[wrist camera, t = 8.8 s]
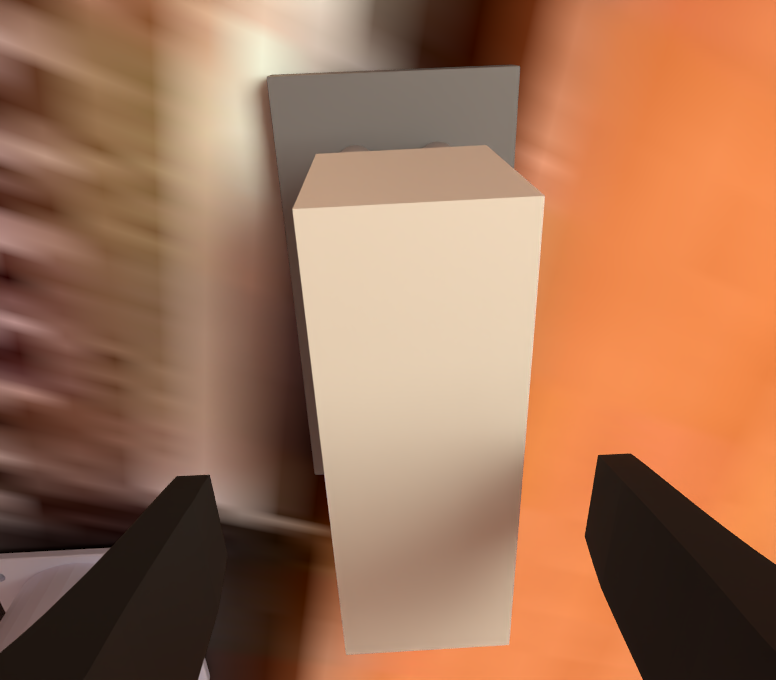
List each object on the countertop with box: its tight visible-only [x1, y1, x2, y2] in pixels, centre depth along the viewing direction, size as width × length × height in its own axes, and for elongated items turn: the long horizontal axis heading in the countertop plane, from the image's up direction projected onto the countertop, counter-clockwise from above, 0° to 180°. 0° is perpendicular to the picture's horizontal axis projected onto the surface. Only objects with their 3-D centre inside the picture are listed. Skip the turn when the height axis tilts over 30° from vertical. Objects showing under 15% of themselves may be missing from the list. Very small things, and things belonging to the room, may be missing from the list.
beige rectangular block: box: [292, 145, 545, 655], centre depth 14 cm, size 11×4×5 cm, turn 3°
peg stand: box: [267, 65, 520, 475], centre depth 18 cm, size 14×7×4 cm, turn 2°
